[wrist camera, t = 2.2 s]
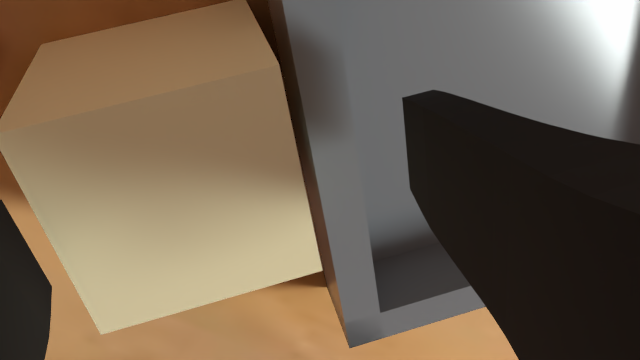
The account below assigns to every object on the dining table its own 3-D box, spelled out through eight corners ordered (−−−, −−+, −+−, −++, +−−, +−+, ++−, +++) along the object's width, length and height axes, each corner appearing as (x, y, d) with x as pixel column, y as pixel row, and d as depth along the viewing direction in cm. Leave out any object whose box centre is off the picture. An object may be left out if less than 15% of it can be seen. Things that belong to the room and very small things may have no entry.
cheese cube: (115, 208, 15) (101, 334, 11) (41, 42, 12) (-9, 135, 9) (282, 163, 15) (322, 270, 12) (244, -4, 13) (279, 64, 9)
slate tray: (327, 288, 18) (349, 348, 16) (211, -273, 10) (224, -300, 8) (667, 188, 19) (729, 232, 17) (790, -372, 12) (929, -417, 9)
